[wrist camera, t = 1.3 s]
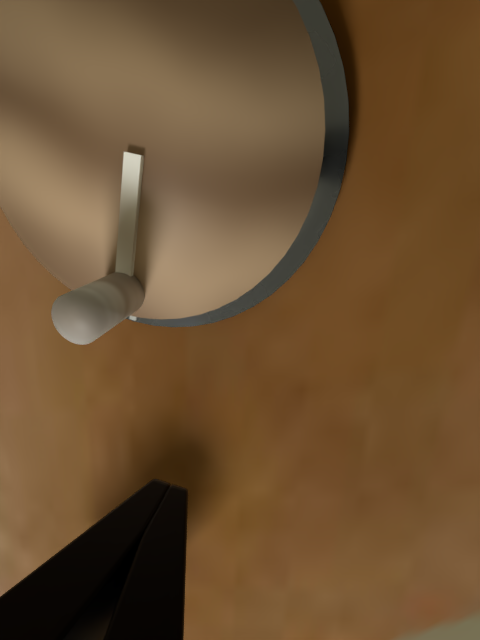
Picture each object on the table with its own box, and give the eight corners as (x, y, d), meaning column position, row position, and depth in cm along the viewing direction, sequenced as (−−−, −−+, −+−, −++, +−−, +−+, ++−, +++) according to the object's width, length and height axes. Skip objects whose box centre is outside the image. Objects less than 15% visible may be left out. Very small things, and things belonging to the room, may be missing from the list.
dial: (-12, -102, 15) (-176, -243, 10) (379, -45, 13) (415, -181, 8) (6, 270, 21) (-90, 297, 16) (275, 343, 19) (260, 399, 14)
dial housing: (198, -227, 13) (186, -267, 12) (418, 208, 17) (426, 210, 16) (-64, 102, 20) (-88, 97, 18) (136, 369, 23) (126, 379, 22)
